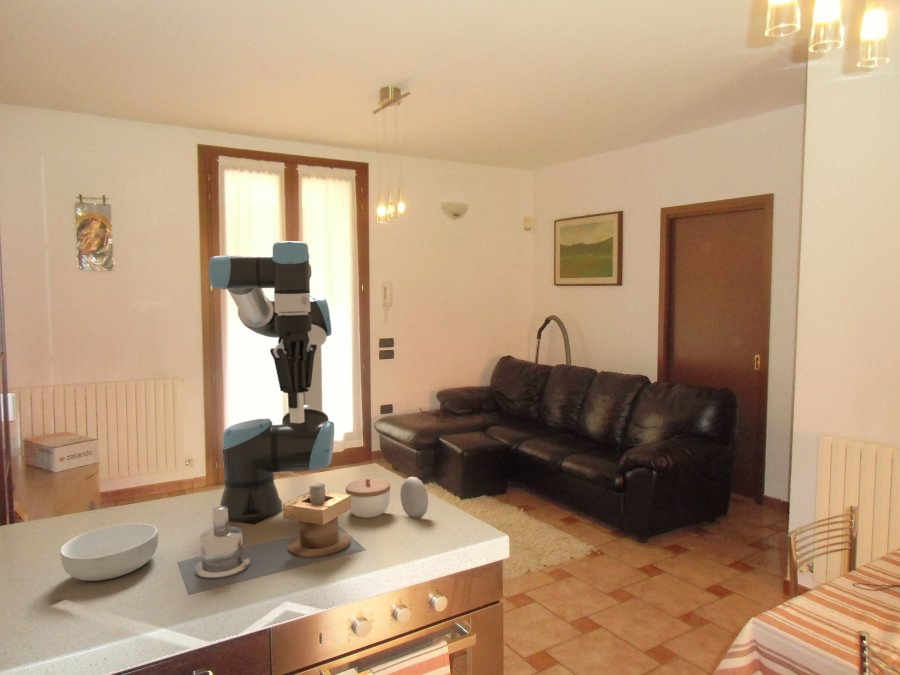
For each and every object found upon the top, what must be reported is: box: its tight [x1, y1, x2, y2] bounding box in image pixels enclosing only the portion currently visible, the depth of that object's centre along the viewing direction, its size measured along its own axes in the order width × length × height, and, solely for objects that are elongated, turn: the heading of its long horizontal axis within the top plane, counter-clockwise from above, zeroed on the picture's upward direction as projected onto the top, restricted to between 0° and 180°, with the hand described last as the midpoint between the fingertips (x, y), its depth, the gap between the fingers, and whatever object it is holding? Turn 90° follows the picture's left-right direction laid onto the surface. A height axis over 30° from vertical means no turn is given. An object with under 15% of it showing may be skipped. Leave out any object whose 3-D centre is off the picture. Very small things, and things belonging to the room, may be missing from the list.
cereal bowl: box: [59, 522, 159, 582], centre depth 119 cm, size 17×17×7 cm
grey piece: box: [399, 476, 429, 519], centre depth 145 cm, size 10×4×10 cm, turn 34°
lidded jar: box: [345, 477, 391, 519], centre depth 146 cm, size 11×11×9 cm
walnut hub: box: [288, 482, 351, 558], centre depth 127 cm, size 13×13×13 cm
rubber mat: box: [176, 525, 367, 595], centre depth 122 cm, size 34×16×1 cm, turn 121°
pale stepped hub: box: [195, 505, 250, 580], centre depth 117 cm, size 10×10×12 cm
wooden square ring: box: [282, 490, 351, 525], centre depth 127 cm, size 10×10×3 cm
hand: (297, 422), depth 131 cm, fingers closed
